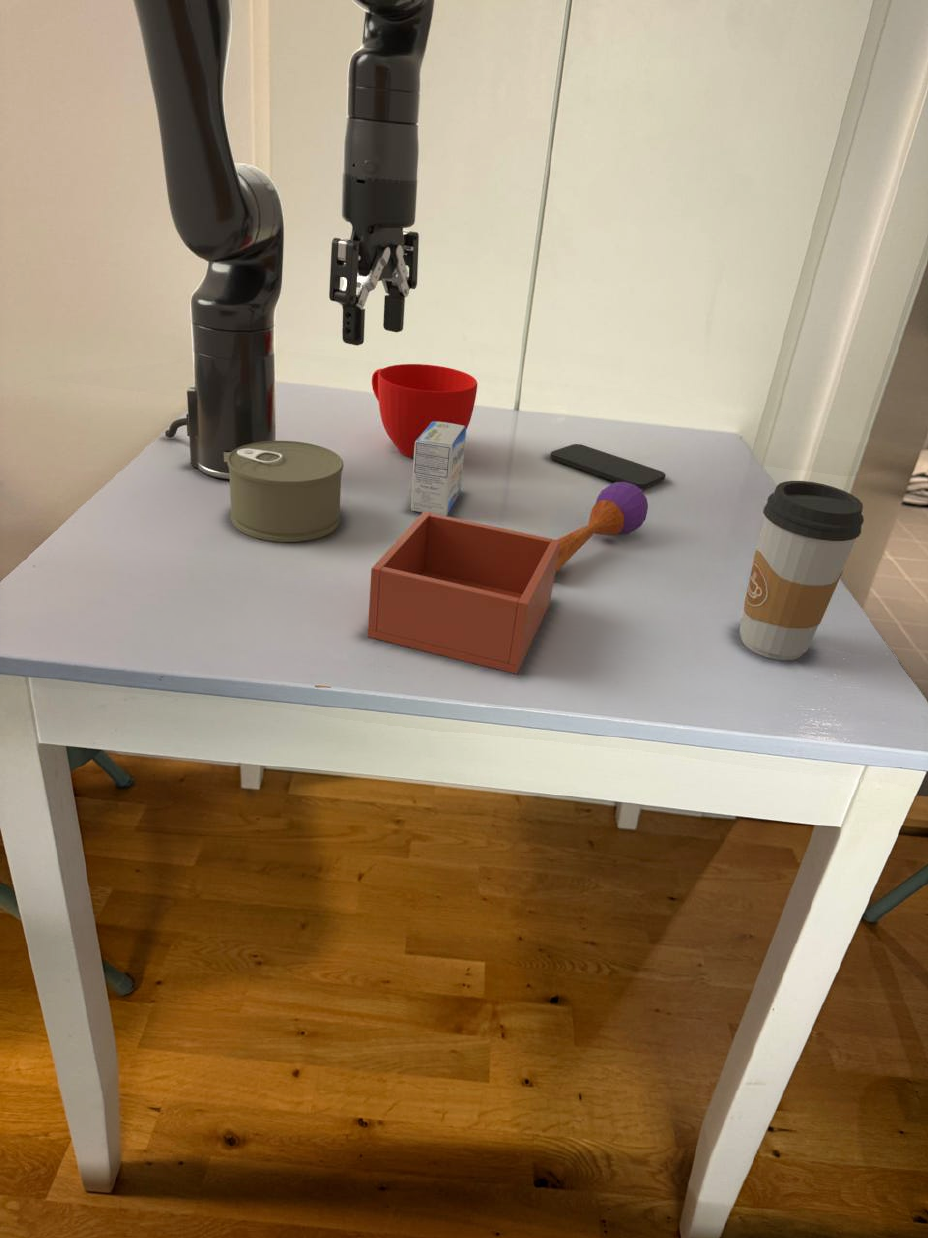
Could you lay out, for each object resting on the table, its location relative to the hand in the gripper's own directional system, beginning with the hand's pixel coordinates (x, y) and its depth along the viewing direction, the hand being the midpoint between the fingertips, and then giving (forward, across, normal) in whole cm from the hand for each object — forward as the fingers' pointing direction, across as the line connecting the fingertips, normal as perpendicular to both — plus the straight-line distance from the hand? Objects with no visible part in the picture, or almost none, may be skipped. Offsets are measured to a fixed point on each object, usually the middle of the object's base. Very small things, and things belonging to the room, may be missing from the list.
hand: (373, 337), depth 98 cm
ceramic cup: (+18, -18, -4) cm, 26 cm away
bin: (+18, +20, +23) cm, 36 cm away
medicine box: (+18, -2, +8) cm, 20 cm away
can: (+18, +12, -3) cm, 22 cm away
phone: (+18, -28, +21) cm, 40 cm away
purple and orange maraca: (+19, -2, +27) cm, 33 cm away
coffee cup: (+19, +7, +49) cm, 53 cm away
